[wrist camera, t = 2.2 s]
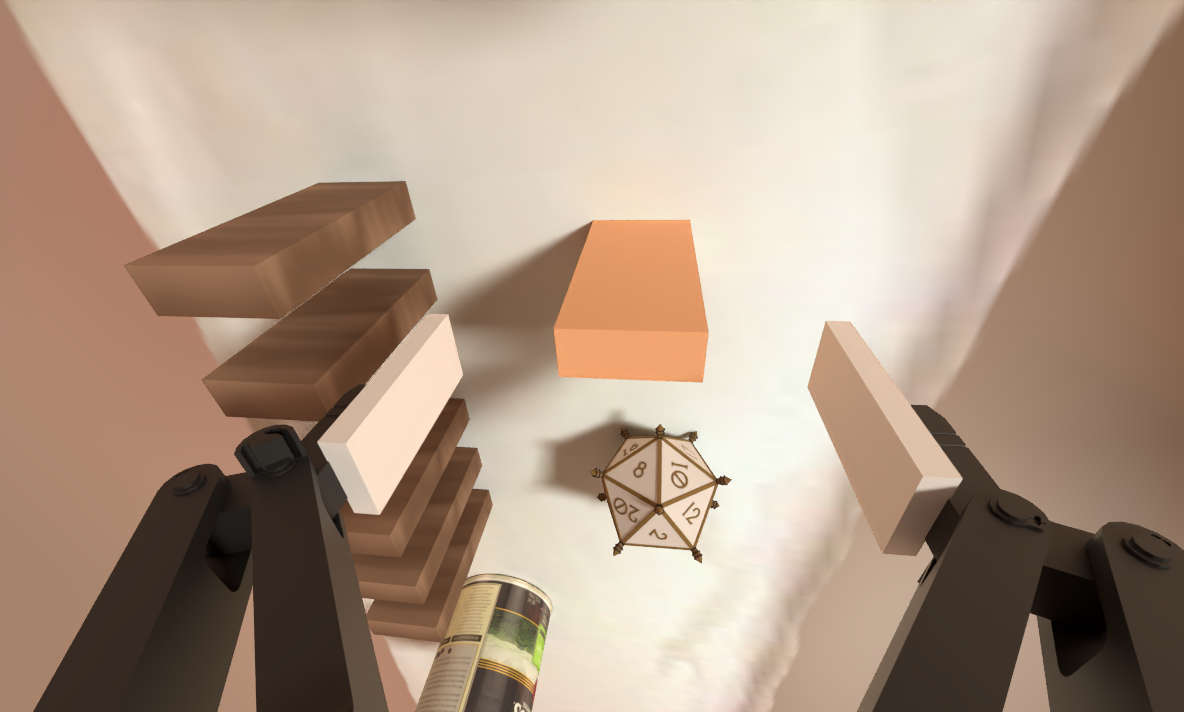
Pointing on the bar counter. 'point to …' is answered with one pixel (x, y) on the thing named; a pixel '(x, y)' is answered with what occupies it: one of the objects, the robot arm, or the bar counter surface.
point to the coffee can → (490, 649)
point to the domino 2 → (323, 346)
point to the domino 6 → (634, 305)
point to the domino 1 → (273, 252)
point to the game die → (659, 492)
